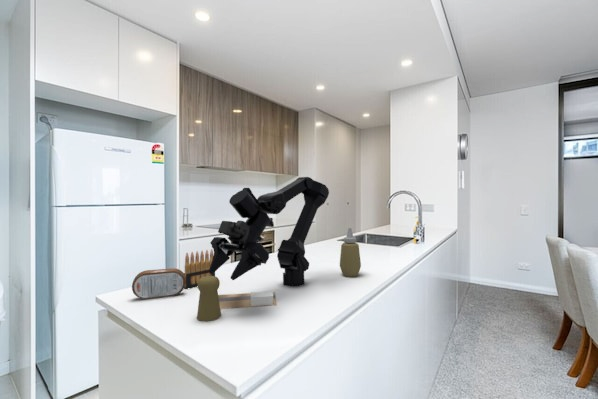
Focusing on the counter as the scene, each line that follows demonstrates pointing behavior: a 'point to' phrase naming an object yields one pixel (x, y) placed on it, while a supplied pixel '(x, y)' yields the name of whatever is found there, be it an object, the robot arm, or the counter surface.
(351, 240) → the squeeze bottle
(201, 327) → the counter surface
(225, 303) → the oak plank
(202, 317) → the cork
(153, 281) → the tin
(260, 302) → the white rectangular prism
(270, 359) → the counter surface
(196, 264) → the ammunition clip
